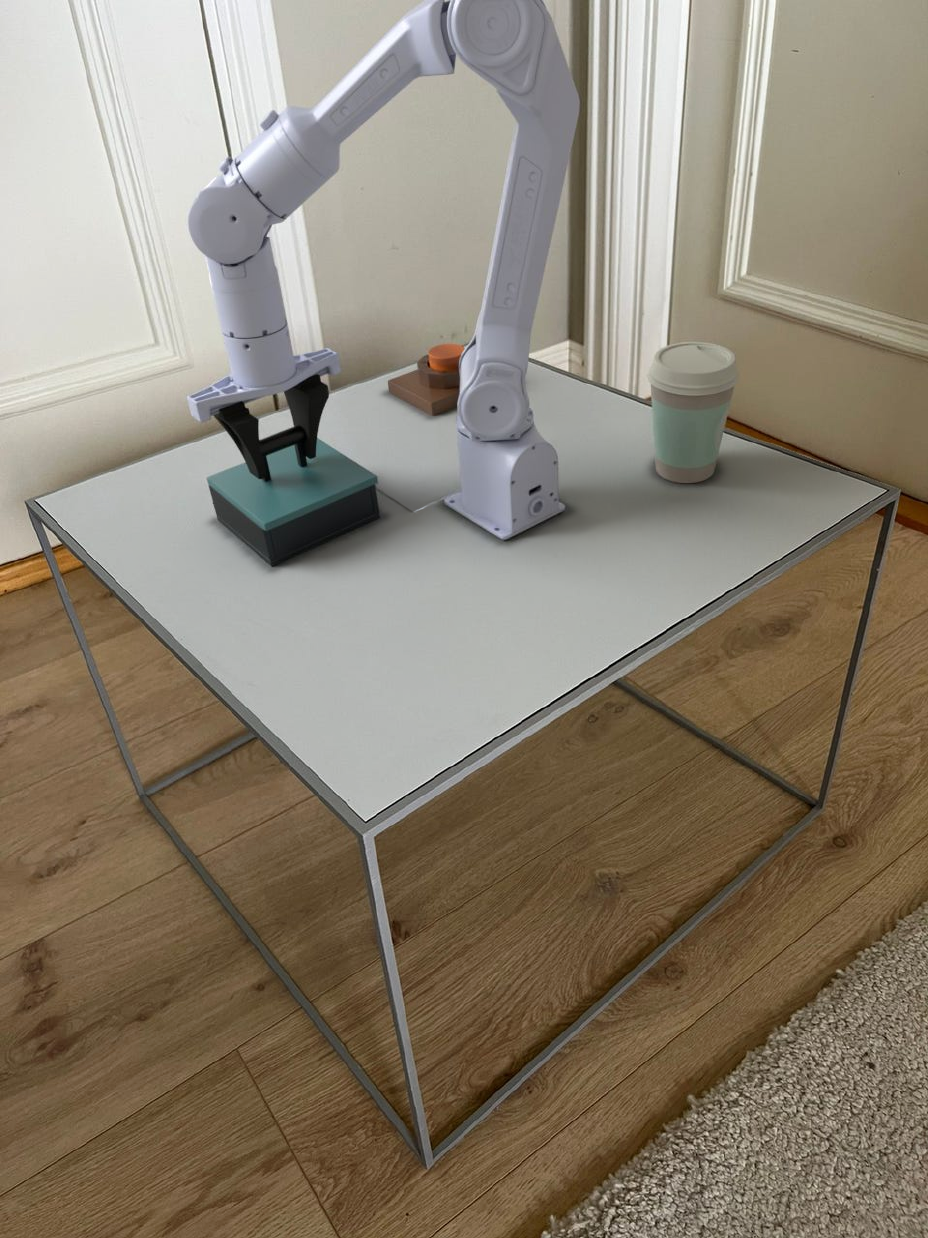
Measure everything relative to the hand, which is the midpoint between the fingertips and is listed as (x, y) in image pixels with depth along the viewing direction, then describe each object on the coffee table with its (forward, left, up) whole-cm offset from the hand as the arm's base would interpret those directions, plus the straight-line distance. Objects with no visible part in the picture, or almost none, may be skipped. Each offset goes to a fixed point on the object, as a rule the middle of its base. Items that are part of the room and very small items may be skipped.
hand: (283, 464), depth 91 cm
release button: (+12, -29, -3) cm, 32 cm away
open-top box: (-1, 0, -6) cm, 6 cm away
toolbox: (-1, 0, -2) cm, 2 cm away
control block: (+12, -29, -6) cm, 32 cm away
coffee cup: (-21, -34, -6) cm, 40 cm away
